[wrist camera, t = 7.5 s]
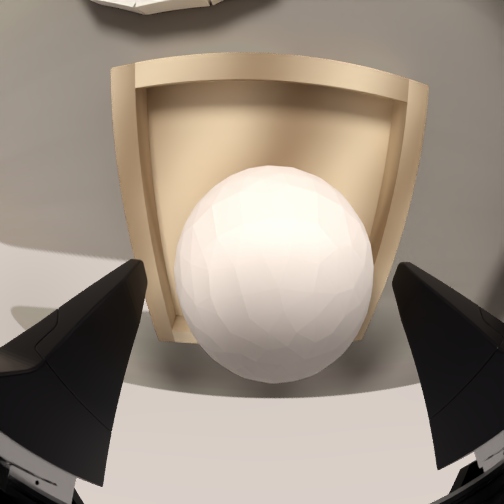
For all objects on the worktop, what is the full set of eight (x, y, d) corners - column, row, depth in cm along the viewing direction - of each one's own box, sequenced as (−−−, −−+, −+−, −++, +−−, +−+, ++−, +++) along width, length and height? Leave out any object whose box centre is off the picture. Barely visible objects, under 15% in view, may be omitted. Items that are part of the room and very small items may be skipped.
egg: (361, 189, 11) (470, 289, 4) (301, 297, 14) (324, 436, 7) (229, 131, 10) (166, 153, 3) (185, 256, 13) (124, 391, 6)
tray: (404, 84, 9) (428, 85, 7) (353, 317, 17) (361, 340, 15) (131, 70, 9) (110, 68, 7) (165, 316, 16) (158, 340, 15)
